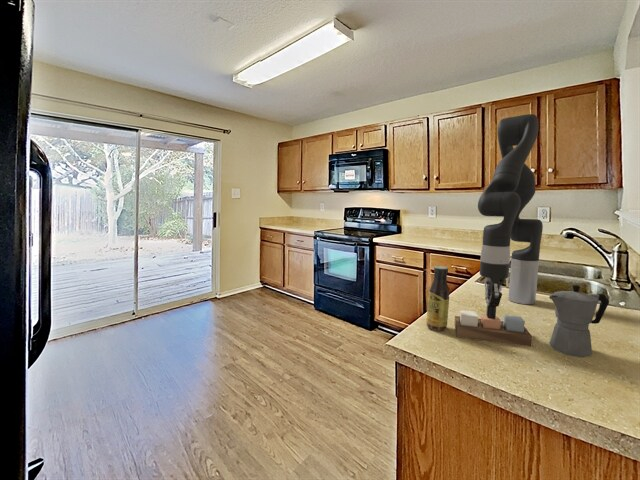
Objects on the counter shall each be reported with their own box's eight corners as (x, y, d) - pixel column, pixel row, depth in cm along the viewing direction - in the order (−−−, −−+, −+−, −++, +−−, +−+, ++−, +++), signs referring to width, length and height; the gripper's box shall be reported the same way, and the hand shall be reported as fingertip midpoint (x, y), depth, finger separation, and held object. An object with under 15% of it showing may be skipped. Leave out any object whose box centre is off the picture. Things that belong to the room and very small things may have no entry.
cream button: (459, 322, 100) (460, 310, 99) (475, 324, 98) (476, 311, 98) (461, 327, 95) (461, 314, 95) (477, 329, 94) (478, 316, 94)
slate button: (502, 327, 96) (503, 314, 95) (519, 329, 94) (520, 316, 94) (506, 333, 92) (507, 319, 91) (523, 335, 90) (524, 321, 90)
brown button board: (454, 324, 103) (454, 315, 103) (521, 332, 97) (522, 323, 96) (456, 337, 94) (457, 327, 93) (531, 346, 87) (532, 336, 87)
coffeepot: (558, 357, 81) (564, 289, 79) (533, 341, 91) (539, 280, 88) (618, 358, 81) (626, 290, 79) (588, 342, 90) (594, 280, 88)
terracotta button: (480, 326, 98) (481, 314, 97) (496, 328, 96) (497, 315, 96) (483, 332, 94) (483, 319, 93) (499, 334, 92) (500, 321, 92)
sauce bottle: (422, 325, 102) (424, 265, 100) (437, 323, 104) (440, 264, 102) (436, 333, 96) (439, 269, 93) (452, 330, 98) (455, 268, 96)
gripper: (515, 265, 85) (510, 327, 87) (504, 257, 97) (500, 312, 99) (484, 263, 87) (480, 323, 89) (477, 256, 100) (474, 309, 102)
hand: (490, 317), depth 94 cm, fingers closed
